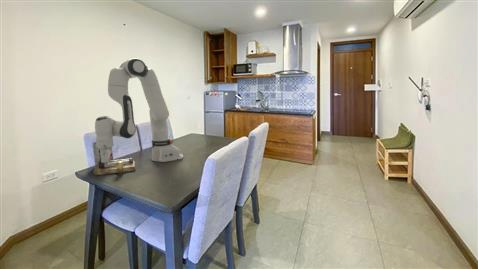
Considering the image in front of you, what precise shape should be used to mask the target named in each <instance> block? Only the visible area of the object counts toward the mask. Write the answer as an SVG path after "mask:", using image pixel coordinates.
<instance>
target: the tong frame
mask: <svg viewBox="0 0 478 269" xmlns="http://www.w3.org/2000/svg"><path fill="white" fill-rule="evenodd" d="M125 160H129V163H133V161H134V158H133V157H129V158H124V159H113V160H111V161H109V162H108V163H112V162H118V161H125ZM98 164H105V163H101V162H98Z"/></svg>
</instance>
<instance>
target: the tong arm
mask: <svg viewBox="0 0 478 269" xmlns="http://www.w3.org/2000/svg"><path fill="white" fill-rule="evenodd" d="M118 162H123V164H129V160H125V161H118ZM108 164H109V165H108V167H111V166H117V162H112V163H108ZM98 167H99V169H100V168H105V164H98Z"/></svg>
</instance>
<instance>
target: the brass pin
mask: <svg viewBox="0 0 478 269" xmlns="http://www.w3.org/2000/svg"><path fill="white" fill-rule="evenodd" d="M116 174H117V175H120V176H121V175H124V172H123V162H117V173H116Z"/></svg>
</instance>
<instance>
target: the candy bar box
mask: <svg viewBox="0 0 478 269" xmlns="http://www.w3.org/2000/svg"><path fill="white" fill-rule="evenodd" d="M92 151H93V159H94V164H95V165H94V166H95V167H96V165H97V164H98V162H101V150H99V148H97V145H96V141H95V142H92ZM111 160H114V156H113V147H111V153H110V158H109V161H111Z"/></svg>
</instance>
